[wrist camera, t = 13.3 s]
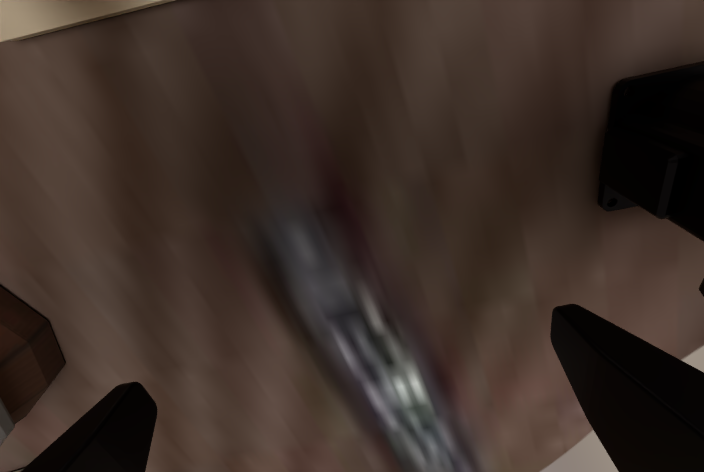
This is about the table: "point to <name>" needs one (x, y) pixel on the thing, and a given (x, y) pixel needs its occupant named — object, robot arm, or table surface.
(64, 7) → the board
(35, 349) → the mug
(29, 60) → the table surface
